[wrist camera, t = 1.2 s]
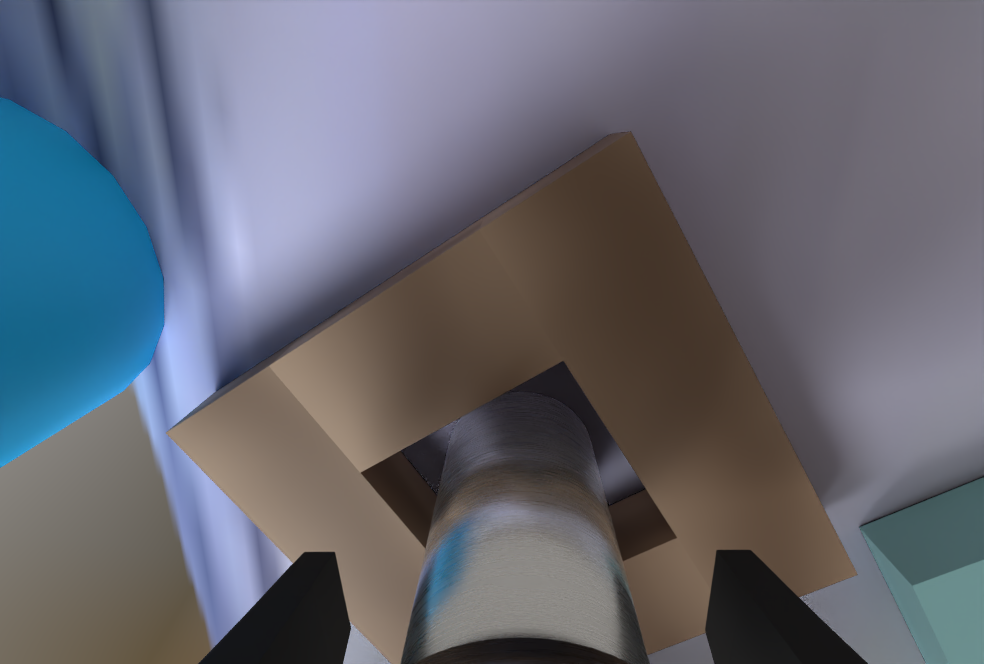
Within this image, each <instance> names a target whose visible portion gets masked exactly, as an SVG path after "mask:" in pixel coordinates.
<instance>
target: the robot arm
mask: <svg viewBox="0 0 984 664" xmlns="http://www.w3.org/2000/svg"><path fill="white" fill-rule="evenodd" d="M350 630H351V626H350V621H349V616H348V612H347V607H346V602H345V597H344V592H343V588H342V583H341V578H340V573H339V569H338V564H337V559H336V554H335V552H304V553H303V554H302V555H301V556H300V557H299V558H298V559H297V560H296V561H295V562H294V563H293V564H292V565H291V566H290V567H289V568H288V569H287V570H286V572H285V573H284V574H283V575H282V576H281V577H280V578H279V579H278V580H277V581H276V582H275V583H274V585H273V586H272V587H271V588H270V589H269V590H268V591H267V592H266V593H265V594H264V595H263V596H262V597H261V599H260V600H259V601H258V602H257V603H256V604H255V605H254V606H253V607H252V608H251V609H250V610H249V611H248V612H247V614H246V615H245V616H244V617H243V618H242V619H241V620H240V621H239V622H238V623H237V624H236V625H235V626H234V627H233V628H232V629H231V630H230V631H229V632H228V633H227V634H226V636H225V637H224V638H223V639H222V640H221V641H220V642H219V643H218V644H217V645H216V646H215V647H214V648H213V649H212V650H211V651H210V652H209V653H208V654H207V655H206V656H205V657H204V658H203V660H201V662H199V663H198V664H343V661H344V656H345V652H346V648H347V643H348V639H349V635H350ZM705 632H706V635H707V639H708V642H709V646H710V649H711V653H712V656H713V660H714V663H715V664H868V663H867V662H866V661H865V660H864V659H862V658H861V657H860V656H859V655H858V654H857V653H856V652H855V651H854V650H853V649H852V648H851V647H850V646H849V645H848V644H846V643H845V642H844V641H843V640H842V639H841V638H840V637H839V636H838V635H837V634H836V633H835V632H834V631H833V630H832V629H831V628H830V627H829V626H828V625H827V624H826V623H825V622H823V621H822V620H821V619H820V618H819V617H818V616H817V615H816V614H815V613H814V612H813V611H812V610H811V609H810V608H809V607H808V606H807V605H806V604H805V603H804V602H803V601H802V600H801V599H800V598H799V597H798V596H797V595H796V594H795V593H794V592H793V591H792V590H791V589H790V588H789V587H788V586H787V585H786V584H785V583H784V582H783V581H782V580H781V579H780V578H779V577H778V576H777V575H776V574H775V573H774V572H773V571H772V570H771V569H770V568H769V567H768V566H767V565H766V564H765V563H764V562H763V561H762V560H761V559H760V558H759V557H758V556H757V555H756V554H755V553H753V552H752V551H751V550H716V557H715V564H714V571H713V578H712V585H711V592H710V598H709V605H708V612H707V619H706V626H705Z"/></svg>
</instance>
